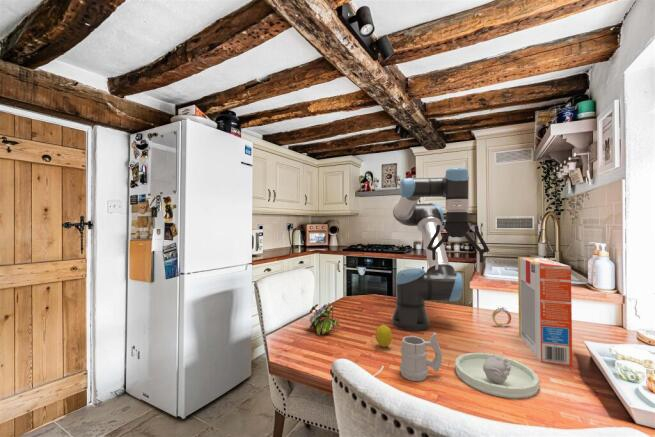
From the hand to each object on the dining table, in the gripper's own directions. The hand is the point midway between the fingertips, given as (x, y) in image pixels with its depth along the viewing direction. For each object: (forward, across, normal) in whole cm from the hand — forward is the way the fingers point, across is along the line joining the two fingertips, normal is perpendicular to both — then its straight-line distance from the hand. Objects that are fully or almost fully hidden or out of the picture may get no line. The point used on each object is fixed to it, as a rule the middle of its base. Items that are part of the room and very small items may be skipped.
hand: (456, 270), depth 106 cm
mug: (+26, -9, -29) cm, 40 cm away
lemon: (+26, -23, -15) cm, 38 cm away
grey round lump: (+24, +10, -27) cm, 38 cm away
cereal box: (+26, +27, +6) cm, 38 cm away
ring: (+27, +17, +25) cm, 40 cm away
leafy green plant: (+26, -49, -8) cm, 56 cm away
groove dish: (+26, +10, -22) cm, 35 cm away
